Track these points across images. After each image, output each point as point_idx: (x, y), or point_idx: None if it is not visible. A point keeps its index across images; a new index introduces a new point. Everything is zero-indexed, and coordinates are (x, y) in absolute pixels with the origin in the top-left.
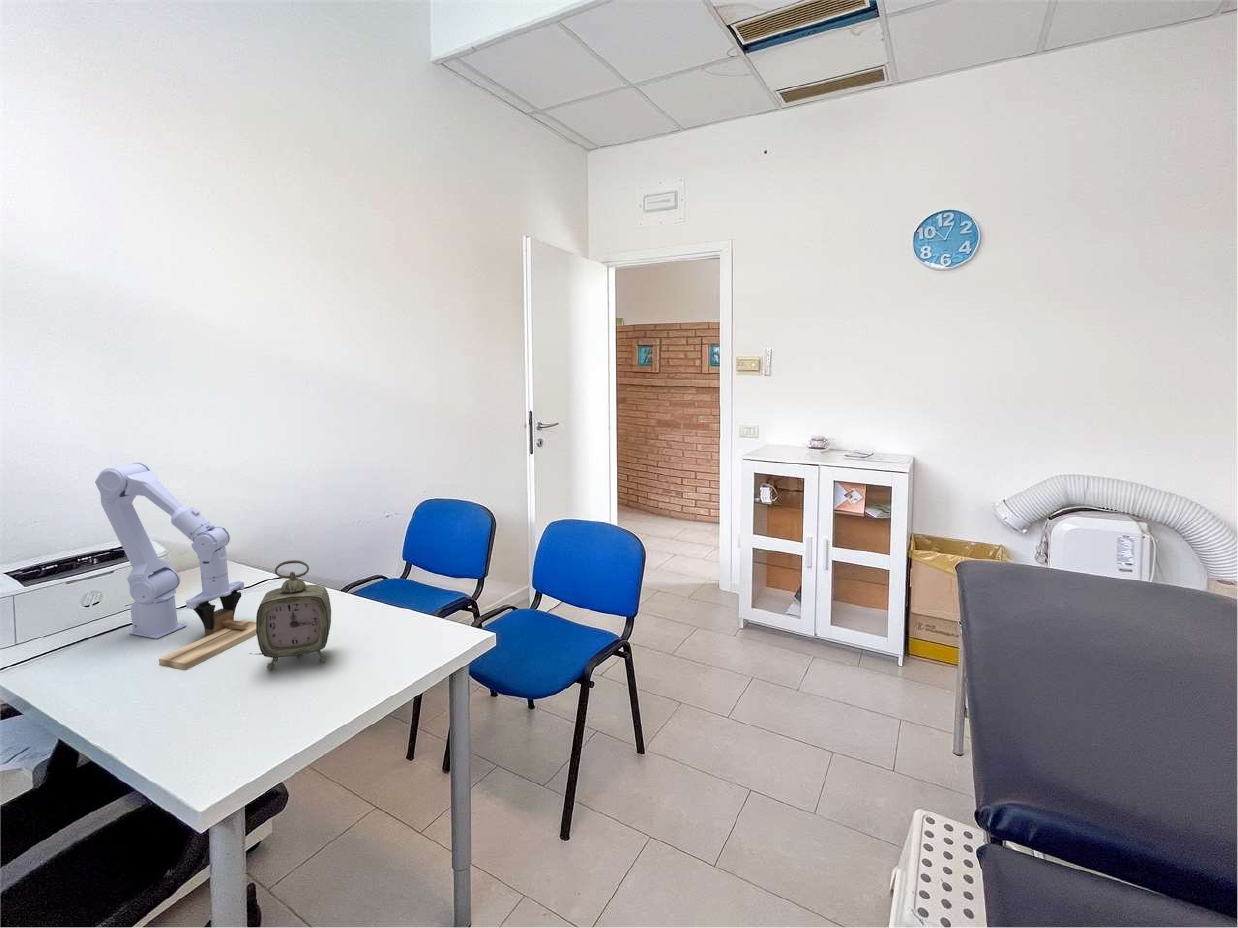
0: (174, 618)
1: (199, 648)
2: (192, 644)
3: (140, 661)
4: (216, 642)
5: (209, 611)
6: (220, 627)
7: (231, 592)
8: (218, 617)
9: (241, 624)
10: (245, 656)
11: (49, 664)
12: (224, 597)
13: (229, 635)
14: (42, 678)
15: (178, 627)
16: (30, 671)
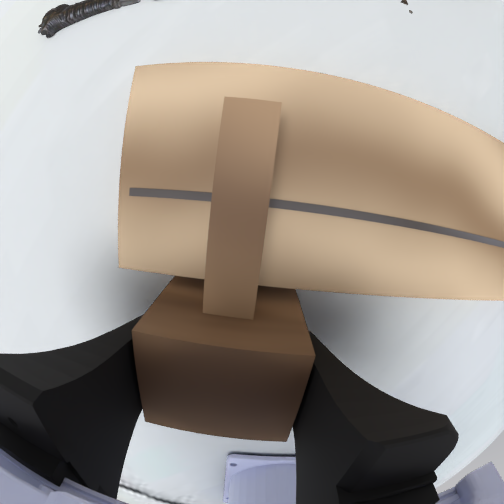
0: (265, 495)
1: (484, 213)
2: (454, 284)
3: (481, 363)
4: (434, 172)
5: (402, 408)
6: (269, 302)
7: (33, 460)
8: (282, 349)
9: (270, 113)
10: (426, 9)
11: (436, 475)
12: (101, 469)
13: (346, 160)
14: (486, 436)
15: (259, 461)
16: (454, 469)
